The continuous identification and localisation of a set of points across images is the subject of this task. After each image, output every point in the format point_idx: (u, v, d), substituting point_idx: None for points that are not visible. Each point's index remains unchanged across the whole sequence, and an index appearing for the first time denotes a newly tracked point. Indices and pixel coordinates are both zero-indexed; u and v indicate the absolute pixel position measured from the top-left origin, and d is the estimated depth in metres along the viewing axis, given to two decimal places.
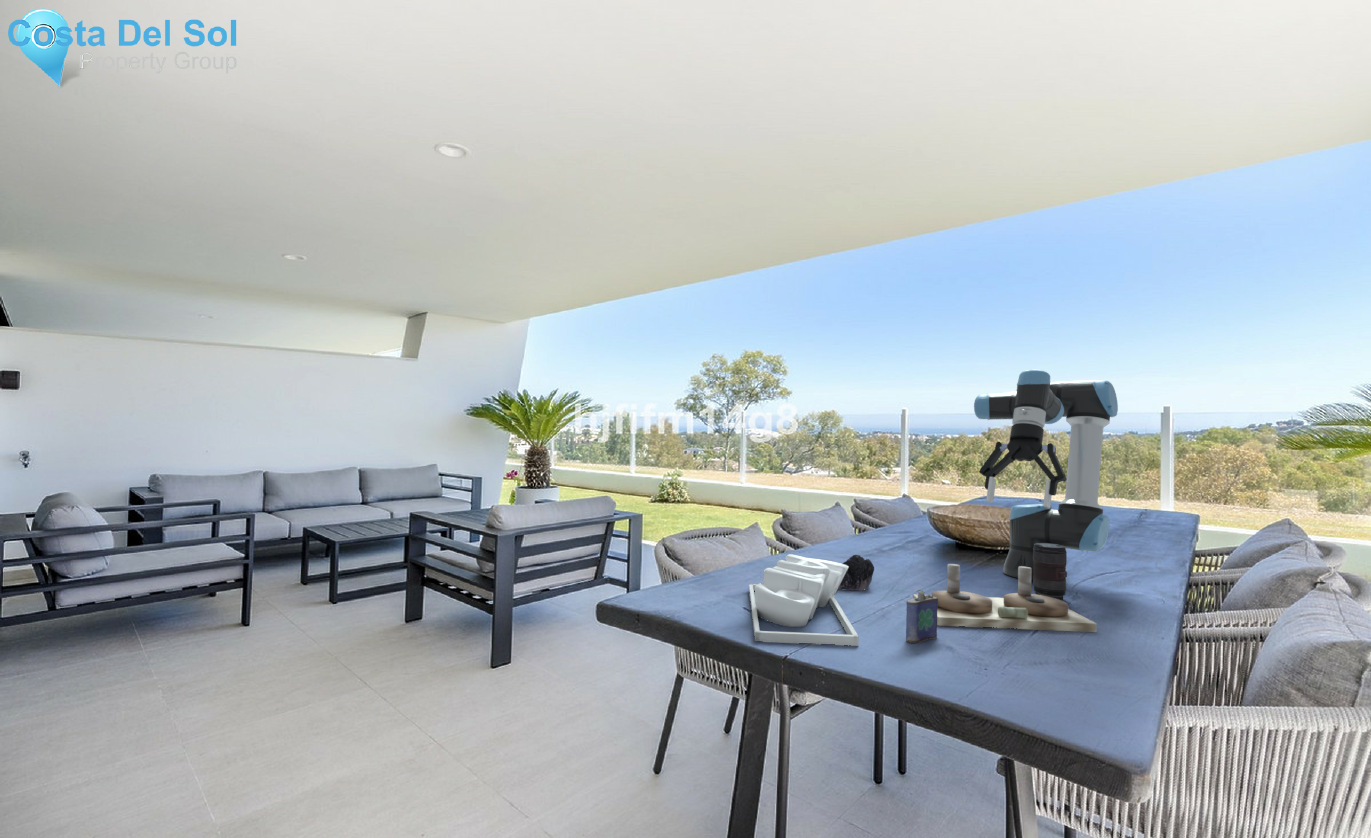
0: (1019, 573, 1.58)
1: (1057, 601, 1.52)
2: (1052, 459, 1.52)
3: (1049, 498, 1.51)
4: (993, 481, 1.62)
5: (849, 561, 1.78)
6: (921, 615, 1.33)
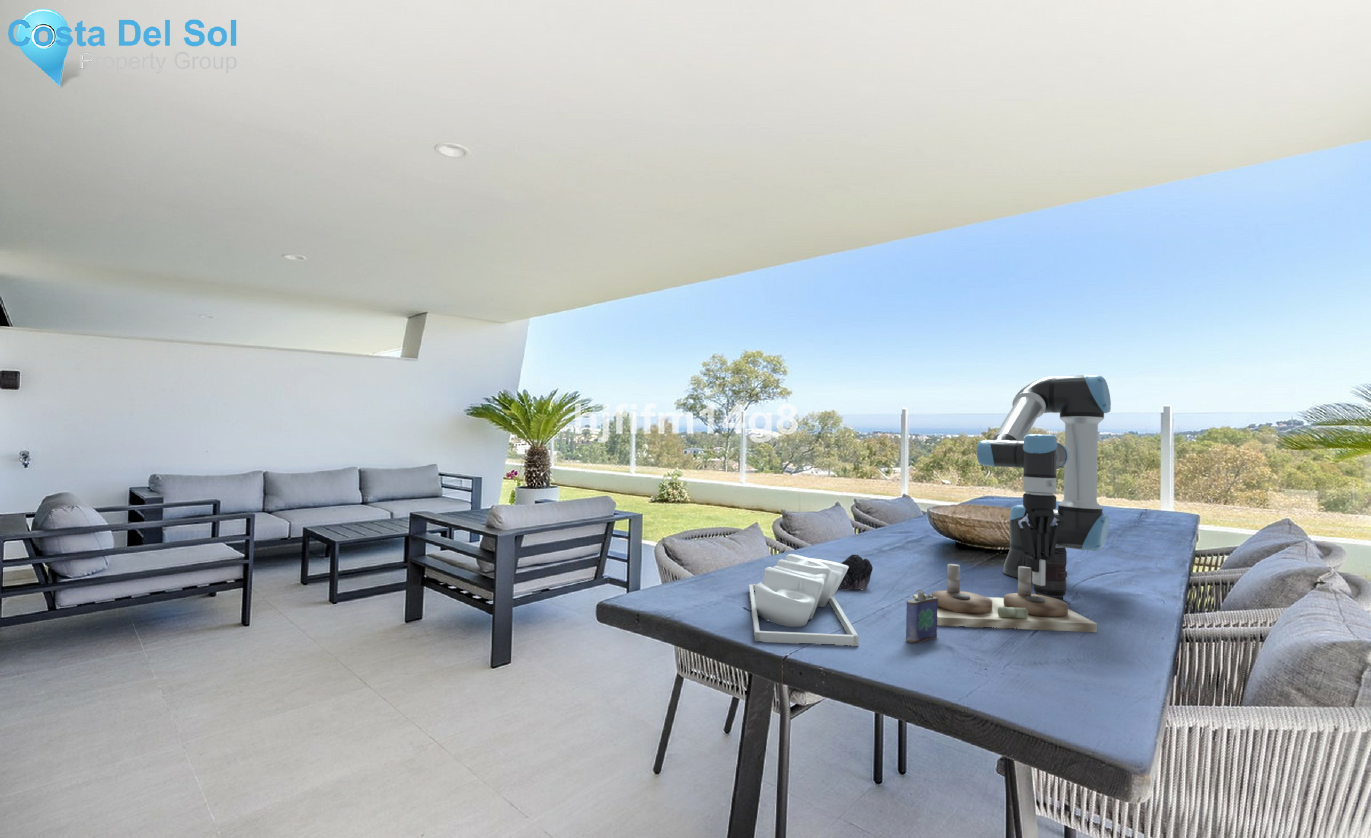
0: (1019, 573, 1.58)
1: (1057, 601, 1.52)
2: (1055, 536, 1.58)
3: None
4: None
5: (847, 561, 1.78)
6: (921, 615, 1.33)
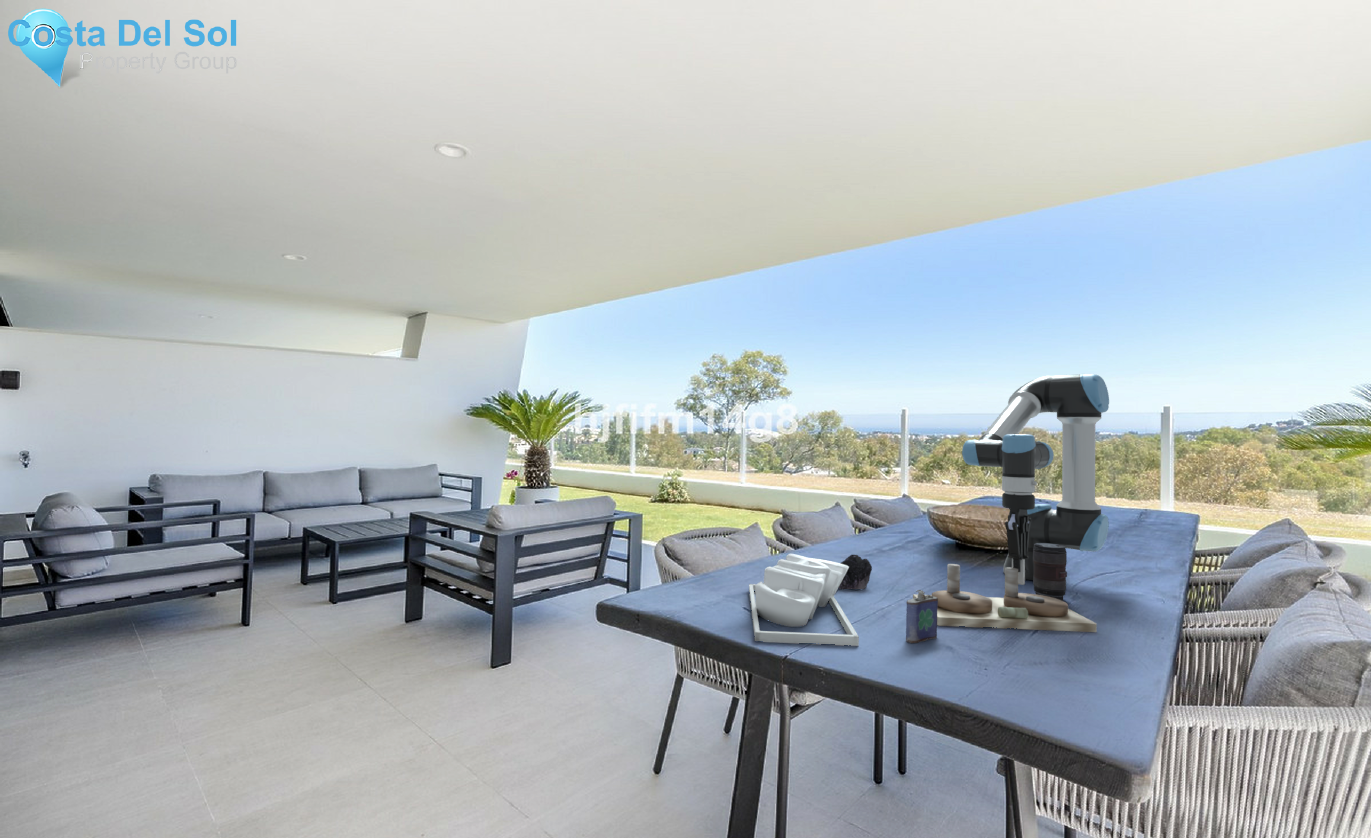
0: (1010, 575, 1.55)
1: (1041, 596, 1.56)
2: (1028, 534, 1.60)
3: None
4: None
5: (847, 561, 1.78)
6: (921, 615, 1.33)
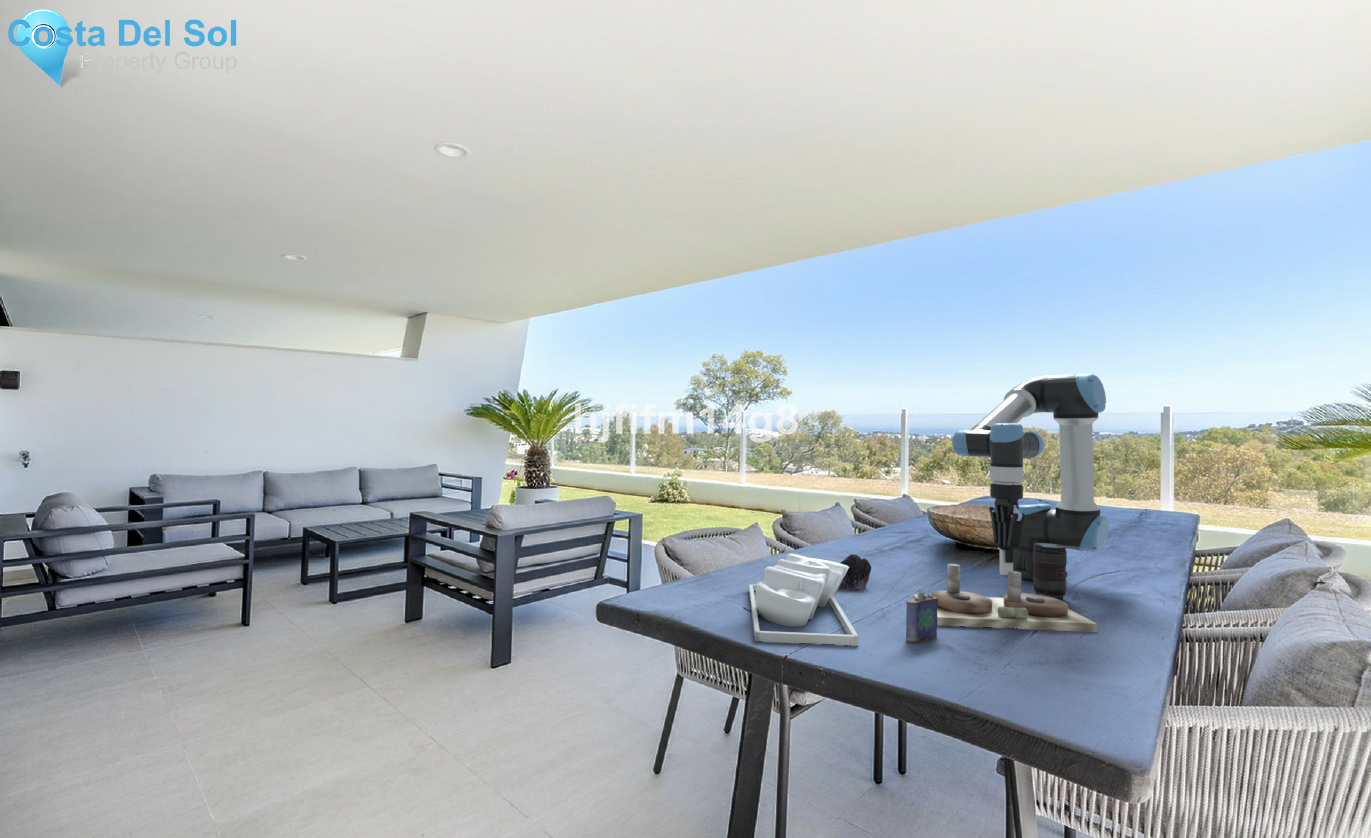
0: (1018, 580, 1.51)
1: (1022, 594, 1.58)
2: None
3: None
4: None
5: (846, 561, 1.78)
6: (921, 615, 1.33)
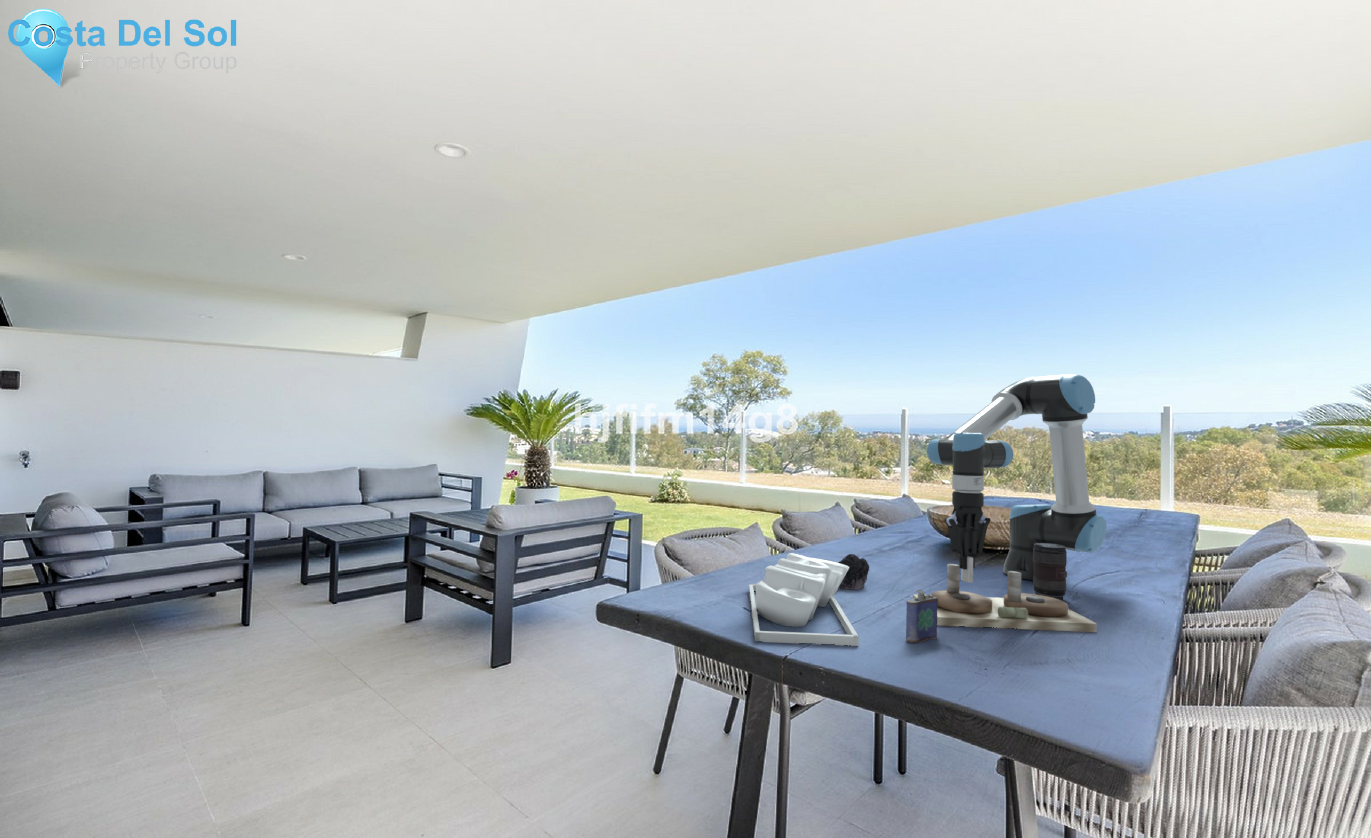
0: (1018, 580, 1.51)
1: (1022, 594, 1.58)
2: (983, 533, 1.59)
3: None
4: None
5: (844, 560, 1.79)
6: (921, 615, 1.33)
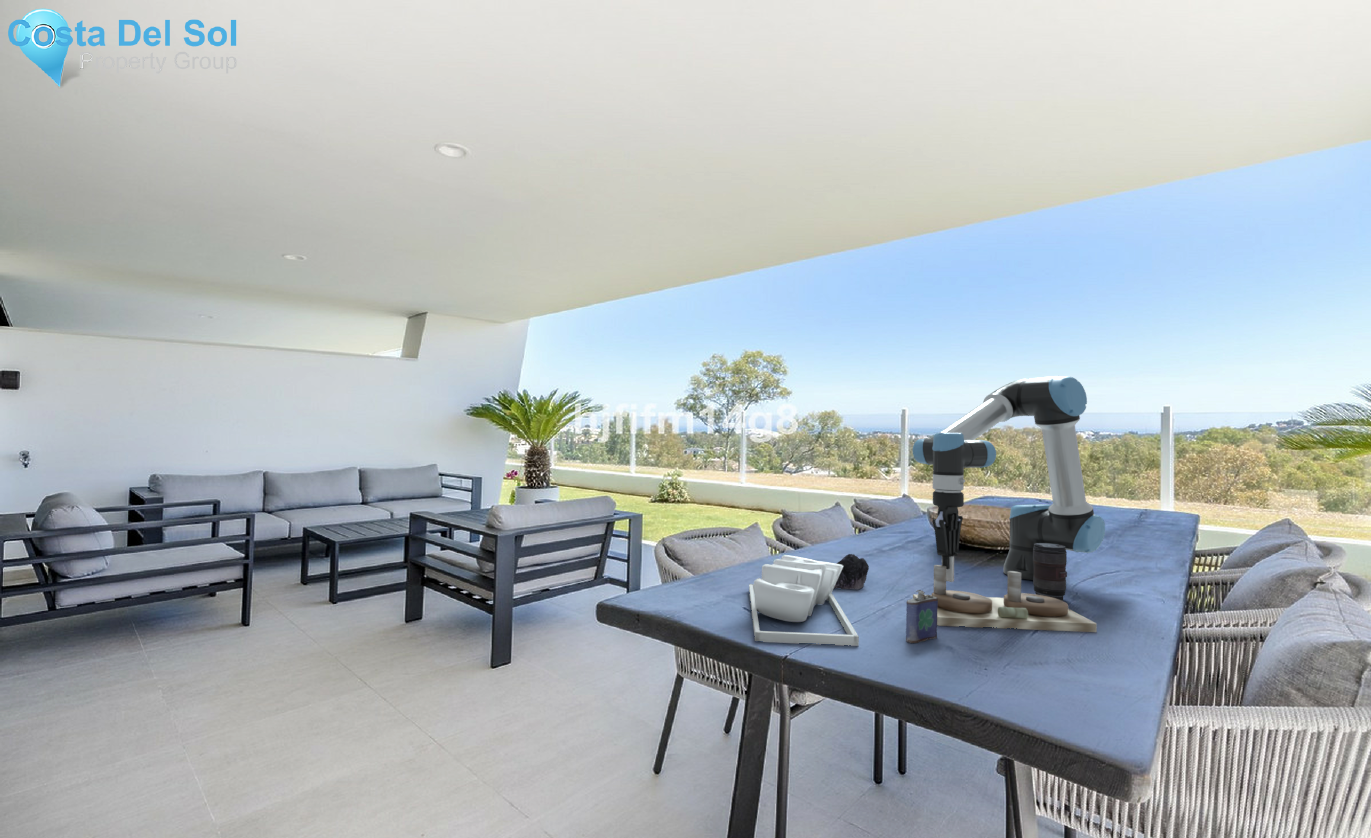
0: (1018, 580, 1.51)
1: (1022, 594, 1.58)
2: (959, 532, 1.62)
3: None
4: None
5: (844, 560, 1.79)
6: (921, 615, 1.33)
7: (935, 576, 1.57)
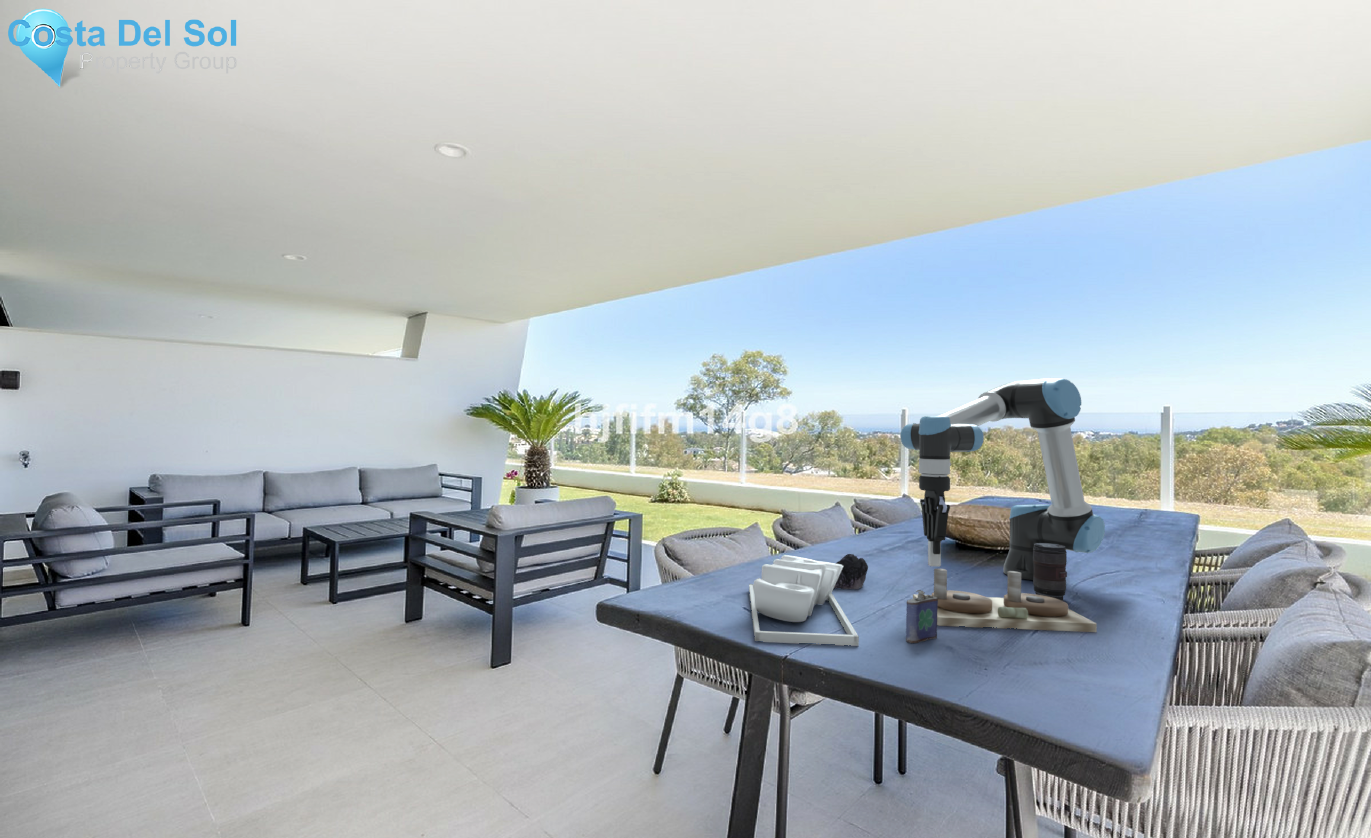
0: (1018, 580, 1.51)
1: (1022, 594, 1.58)
2: None
3: None
4: None
5: (843, 560, 1.79)
6: (921, 615, 1.33)
7: (940, 581, 1.52)
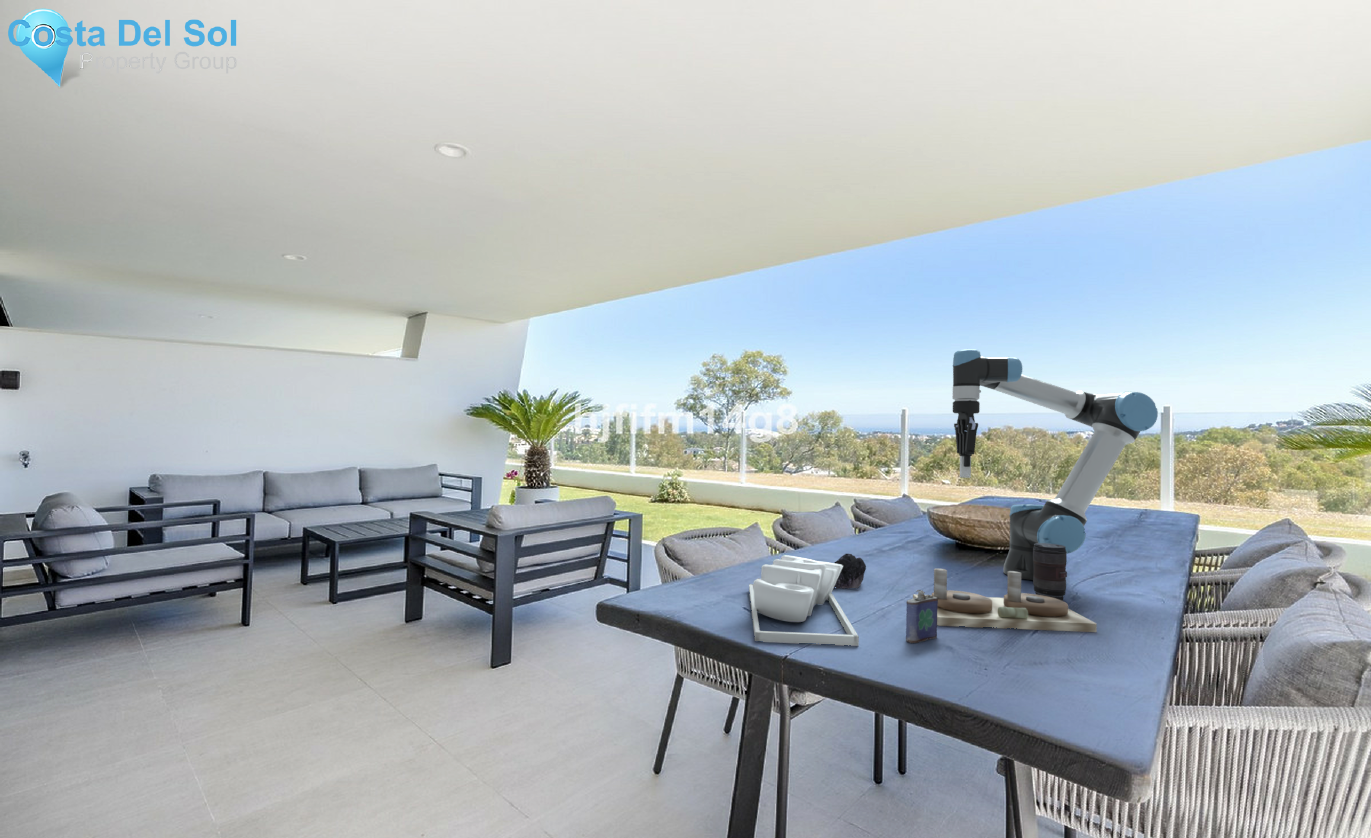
0: (1018, 580, 1.51)
1: (1022, 594, 1.58)
2: None
3: None
4: None
5: (841, 560, 1.79)
6: (921, 615, 1.33)
7: (940, 581, 1.52)
